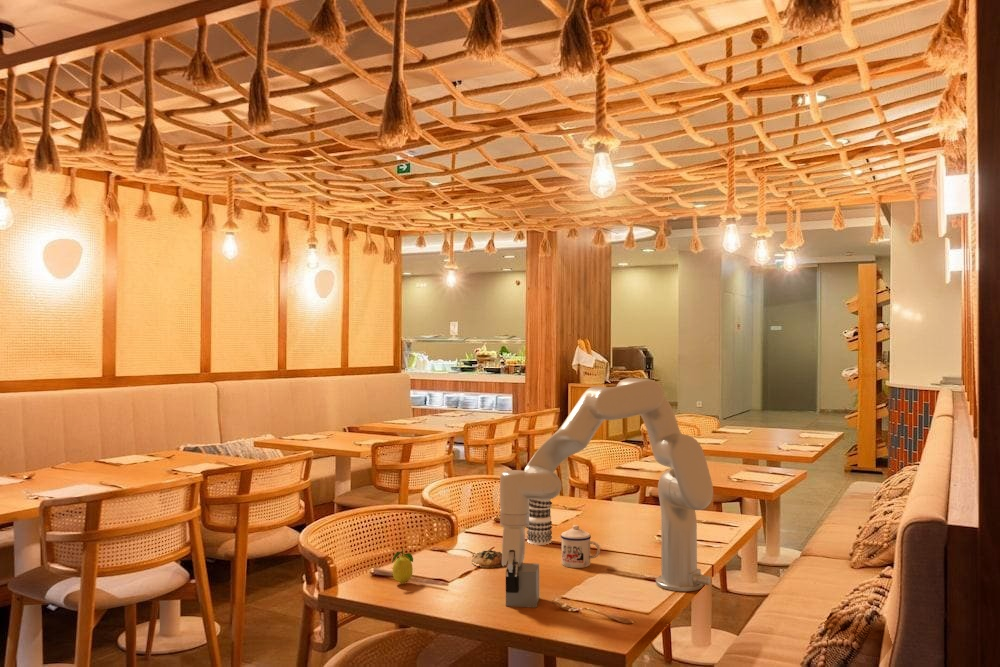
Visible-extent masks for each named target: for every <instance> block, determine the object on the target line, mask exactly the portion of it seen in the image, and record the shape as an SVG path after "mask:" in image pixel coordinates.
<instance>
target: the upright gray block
mask: <svg viewBox="0 0 1000 667" xmlns="http://www.w3.org/2000/svg"><path fill="white" fill-rule="evenodd" d="M513 564H515V563H513ZM506 570H507V568H506V569H505V571H506ZM517 576H519V591H518V593H507V592H506V591H505V607H514V608H515V607H518V608H533V609H535V608H537V606H538V603H539V600H540V563H534V562H533V563H532V562H531V563H530V562H529V563H528V562H523V563H522V564H521V566H520V567H518V575H517Z"/></svg>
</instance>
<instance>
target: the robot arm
mask: <svg viewBox="0 0 1000 667" xmlns="http://www.w3.org/2000/svg"><path fill="white" fill-rule="evenodd" d="M635 416H640V417H641V419H642V420H643V423H644V427H645V429H646V433H647V436H648V439H649V444H650V447H651V452H652V455H653V458H654V459H655V461H656V462H657V464H659V465H662V466H664V467H668V469H667V470H666V471H663V473H661V475H660V477H659V480H658V483H657V495H658V499H659V506H660V518H661V519H660V522H661V523H660V525H661V526H660V530H661V532H660V533H661V534H660V536H661V537H660V538H661V540H660V542H661V543H660V546H661V554H660V555H661V557H660V558H661V559H660V561H661V562H660V563H661V575H659V576H657V577H656V578H655V584H656V585H657V586H658V587H659V586H660V588H662V589H665V590H668V591H674V592H694V591H699V590H700V589H702V588H703V587H704V585H706V586H710V585H711V582H712V581H711V580H712V579H711V576H710V575H705V574H704V575H703V574H702V572H701V568H698V551H697V550H698V538H697V537H698V535H697V534H698V533H697V532H698V528H697V527H698V524H697V523H698V522H697V520H698V519H697V513H696V511H700V510H701V511H702V510H704V509H706V508H707V507H709V505H710V504H711V503H712V500H713V498H714V486H713V485H714V484H713V482H712V478H711V475H710V469H709V466H708V463H707V458H706V455H705V452H704V449H703V447H702V446H701V444H700V443H699V441H698V440H697V439H695V438H694V437H693V436H691V435H688V434H684V433H682V432H681V430H680V426H679V424H678V421H677V419H676V416H675V412H674V410H673V408H672V406H671V404H670V401H668V399H667V398H666V397H665V392H664V389H663V387H662V386H661V384H660V383H659V382H657V381H655V380H653V379H651V378H639V377H628V378H624V379H621V380H620V381H618V383H617V384H616V385H615V386H611V387H610V386H609V387H608V386H591V387H589V388H587V389H586V390H585V391H584V392H583V393H582V395H581V396H580V398H579V399H578V401H577V402H576V404H575V405H574V407H573V408H572V410H571V411H570V412H569V414H568V416H567V417H566V419H564V421H563V422H562V423H561V426H560V427H559V429H557V430H556V431H555V433H553V434H552V435H551V436H550V437H549V438H548V439H547V440H546V441H544V442H543V443H542V445H541V446H539V448H538V449H537V450H536V451H535V453H534V454H533V456H532V457H531V458H530V460H529V461H528V463H527V464H526V466H525V467H524V470H518V469H511V470H510V469H508V470H505V471H503V472H501V474H500V476H499V477H500V478H499V489H500V490H499V526H501V527H503V529H502V543H501V544H502V545H501V546H502V547H501V550H502V551H501V553H502V567H505V566H506V569H507V570H506V569H505V593H506V592H507V593H518V591H519V576H517V575H518V567H520V566H521V564H522V563H524V561H525V553H526V552H525V551H526V550H525V549H526V528H527V526H529V499H540V500H549V499H551V500H552V499H554V498H556V497H558V495H559V494H560V492H561V490H562V481H561V479H560V477H559V476H558V475H557V474H556V473H555V470H556V469H557V468H558V466H560V465H561V463H563V461H565V460H566V459H567V458H569V457H571V456H574V455H575V454H577V453H579V452H582V451H583V450H585V449H586V448H587V447H588V445H589V443H591V440H592V439H593V437H594V436H595V434H596V433H597V431H598V429H599V428H601V425H602V424H603V423H604V421H614V420H615V421H616V420H617V421H618V420H621V419H625V418H630V417H635ZM513 563H515V564H513Z"/></svg>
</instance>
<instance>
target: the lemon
mask: <svg viewBox="0 0 1000 667" xmlns="http://www.w3.org/2000/svg"><path fill="white" fill-rule="evenodd" d="M401 548H402V550H401V551H397V552H396V553H395V554H394V555H393V558H392V561H391V564H393V565H392V576H393V579H394V580H395V581H396V582H399V583H400V584H402V585H405V583H406V582H408V581H409V580H411V578H412V576H413V563H414V557H413V555H412V553H410V552H408V553H405V552H404V547H401ZM400 555H401V556H400ZM398 556H400V557H398ZM393 562H394V563H393Z"/></svg>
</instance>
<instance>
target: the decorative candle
mask: <svg viewBox="0 0 1000 667" xmlns="http://www.w3.org/2000/svg"><path fill="white" fill-rule="evenodd" d="M551 500H552V499H549V500H540V499H529V526H527V527H526V528H527V530H526V534H527V535H526V538H527V540H526V543H527V542H528V543H527V544H529V543H530V544H529V545H533V544H534V545H533V546H546V544H548V545H550V544H549V543H551V542H552V543H553V541H552V539H553V535H552V534H553V531H552V530H551V529H552V527H553V526H552V523H553V522H552V515H551V509H552V508H553V506H552V505H553V502H552V501H551ZM552 543H551V544H552Z"/></svg>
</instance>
